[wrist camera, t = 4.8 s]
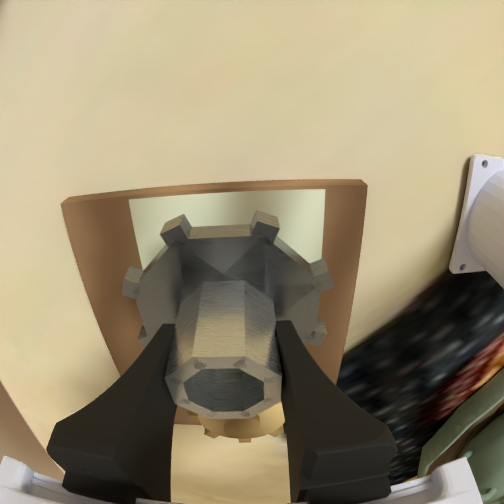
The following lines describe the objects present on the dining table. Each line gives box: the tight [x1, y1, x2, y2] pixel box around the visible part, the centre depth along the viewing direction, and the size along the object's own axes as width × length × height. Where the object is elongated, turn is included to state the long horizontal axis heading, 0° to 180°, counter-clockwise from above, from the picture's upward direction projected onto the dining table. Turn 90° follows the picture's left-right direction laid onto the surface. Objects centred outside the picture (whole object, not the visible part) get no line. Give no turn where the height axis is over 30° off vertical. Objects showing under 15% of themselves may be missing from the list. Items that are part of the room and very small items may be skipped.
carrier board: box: [61, 179, 367, 443], centre depth 19 cm, size 16×20×4 cm
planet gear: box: [121, 210, 335, 419], centre depth 13 cm, size 9×9×5 cm
